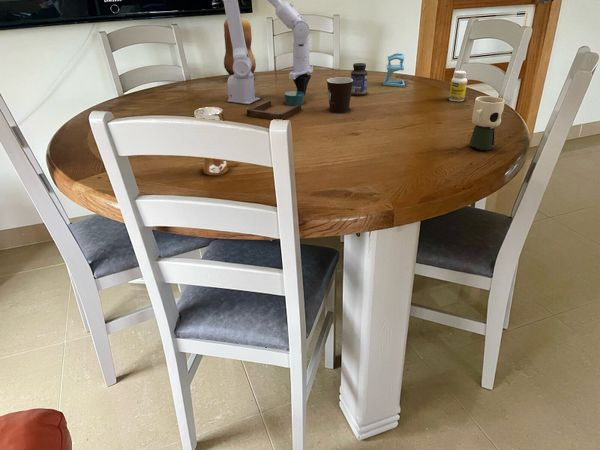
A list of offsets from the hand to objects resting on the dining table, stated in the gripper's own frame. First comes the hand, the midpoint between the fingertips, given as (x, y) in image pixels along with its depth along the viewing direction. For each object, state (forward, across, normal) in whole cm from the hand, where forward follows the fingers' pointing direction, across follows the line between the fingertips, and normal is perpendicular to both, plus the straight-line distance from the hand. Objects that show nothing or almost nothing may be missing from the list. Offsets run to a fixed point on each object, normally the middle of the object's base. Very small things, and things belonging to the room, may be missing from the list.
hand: (301, 95), depth 170 cm
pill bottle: (+2, +15, -16) cm, 22 cm away
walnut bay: (+1, -19, 0) cm, 19 cm away
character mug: (+2, -23, -68) cm, 72 cm away
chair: (+2, +35, -23) cm, 42 cm away
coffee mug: (+2, -6, -18) cm, 19 cm away
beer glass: (+2, -68, -13) cm, 69 cm away
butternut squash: (+2, +18, +40) cm, 44 cm away
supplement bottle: (+2, +22, -51) cm, 56 cm away
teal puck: (+1, -6, 0) cm, 6 cm away
